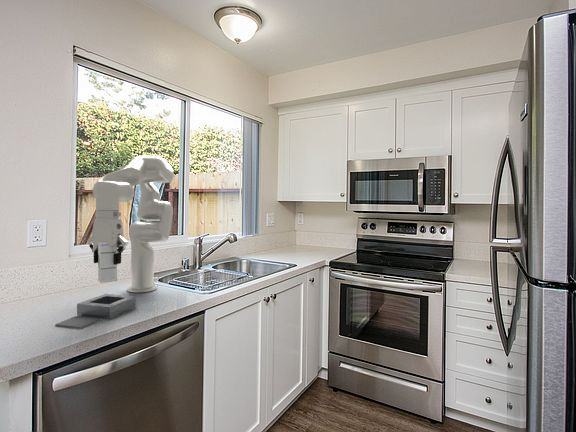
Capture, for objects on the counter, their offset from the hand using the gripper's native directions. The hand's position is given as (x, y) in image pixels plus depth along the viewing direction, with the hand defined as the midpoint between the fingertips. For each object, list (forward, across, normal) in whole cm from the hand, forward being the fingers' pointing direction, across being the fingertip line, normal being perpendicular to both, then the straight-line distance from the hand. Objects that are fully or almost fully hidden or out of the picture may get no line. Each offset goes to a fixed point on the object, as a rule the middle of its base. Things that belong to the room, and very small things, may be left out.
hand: (107, 262), depth 122 cm
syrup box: (+7, 0, 0) cm, 7 cm away
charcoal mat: (+18, +1, +12) cm, 22 cm away
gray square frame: (+18, 0, 0) cm, 18 cm away
